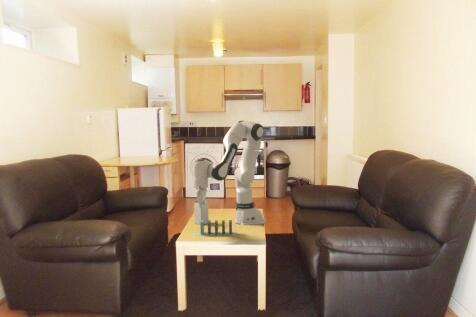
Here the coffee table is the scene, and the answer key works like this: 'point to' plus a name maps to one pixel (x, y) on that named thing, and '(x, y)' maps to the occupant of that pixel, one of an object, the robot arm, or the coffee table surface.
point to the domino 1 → (202, 227)
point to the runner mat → (218, 233)
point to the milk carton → (201, 212)
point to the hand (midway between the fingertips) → (202, 206)
